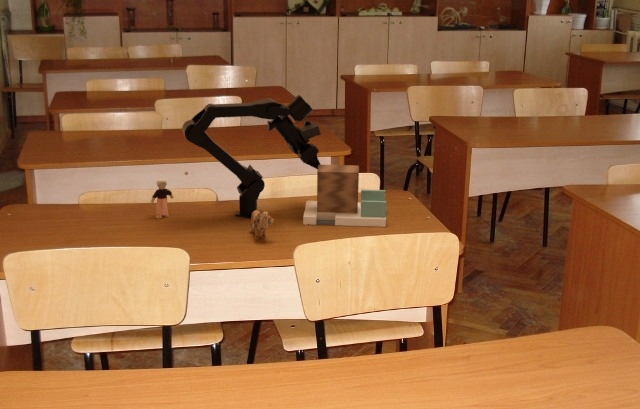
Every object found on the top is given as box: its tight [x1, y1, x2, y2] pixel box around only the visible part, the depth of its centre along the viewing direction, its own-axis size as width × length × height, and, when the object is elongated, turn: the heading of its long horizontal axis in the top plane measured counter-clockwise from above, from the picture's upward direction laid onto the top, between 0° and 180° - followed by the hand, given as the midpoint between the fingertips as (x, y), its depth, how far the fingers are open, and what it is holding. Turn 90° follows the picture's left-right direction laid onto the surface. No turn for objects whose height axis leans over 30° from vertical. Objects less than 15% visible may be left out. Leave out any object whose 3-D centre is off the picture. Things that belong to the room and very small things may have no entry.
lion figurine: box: [249, 209, 275, 240], centre depth 238 cm, size 15×5×9 cm, turn 25°
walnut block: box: [316, 164, 360, 213], centre depth 251 cm, size 13×6×14 cm, turn 87°
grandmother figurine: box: [150, 178, 174, 219], centre depth 252 cm, size 8×4×13 cm, turn 137°
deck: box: [302, 189, 388, 228], centre depth 254 cm, size 26×16×8 cm, turn 87°
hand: (317, 165), depth 258 cm, fingers open, 9 cm apart
